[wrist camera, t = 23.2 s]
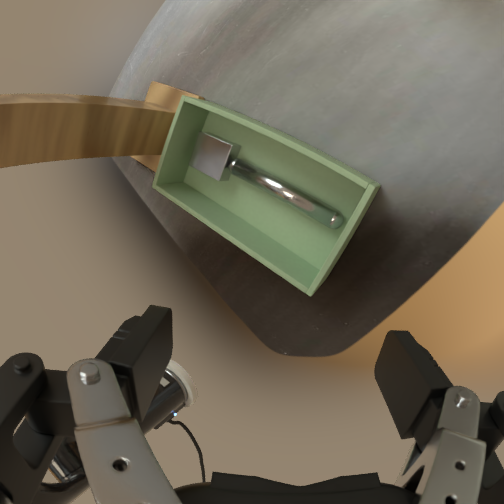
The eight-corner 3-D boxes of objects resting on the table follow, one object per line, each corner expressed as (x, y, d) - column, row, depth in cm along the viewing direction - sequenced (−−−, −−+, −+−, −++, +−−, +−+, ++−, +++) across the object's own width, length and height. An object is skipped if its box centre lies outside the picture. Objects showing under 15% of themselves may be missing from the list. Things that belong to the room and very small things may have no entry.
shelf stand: (213, 101, 33) (-47, 76, 8) (182, 185, 39) (-52, 230, 13) (157, 82, 37) (-46, 68, 11) (133, 154, 42) (-56, 178, 17)
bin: (381, 185, 27) (375, 187, 22) (326, 278, 32) (310, 297, 27) (212, 102, 33) (182, 94, 29) (182, 183, 39) (151, 187, 34)
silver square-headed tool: (354, 203, 28) (350, 205, 26) (334, 241, 30) (330, 245, 28) (209, 132, 34) (199, 130, 32) (198, 164, 36) (187, 165, 34)
